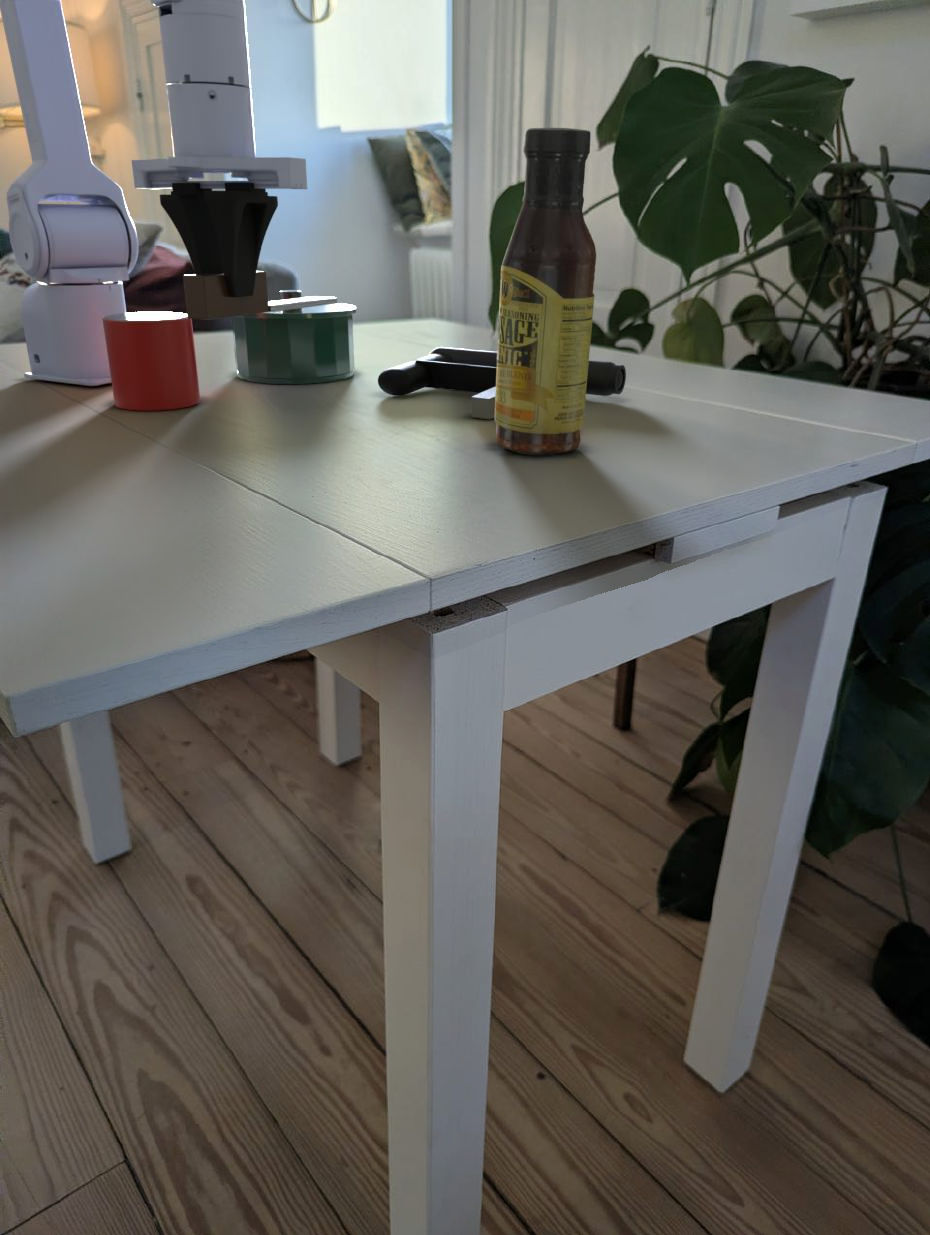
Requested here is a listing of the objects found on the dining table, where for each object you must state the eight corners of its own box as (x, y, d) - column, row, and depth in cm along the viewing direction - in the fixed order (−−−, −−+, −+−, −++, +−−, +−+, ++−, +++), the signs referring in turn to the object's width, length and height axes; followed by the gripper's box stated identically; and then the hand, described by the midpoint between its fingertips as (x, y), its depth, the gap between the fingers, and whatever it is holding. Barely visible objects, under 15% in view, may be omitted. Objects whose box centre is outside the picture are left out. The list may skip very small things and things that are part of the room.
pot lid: (199, 320, 87) (196, 292, 86) (281, 310, 98) (279, 284, 96) (305, 328, 82) (304, 298, 81) (380, 316, 92) (379, 289, 91)
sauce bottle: (480, 441, 66) (486, 130, 58) (558, 435, 68) (574, 134, 60) (517, 462, 60) (528, 122, 52) (600, 455, 62) (624, 127, 54)
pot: (212, 377, 90) (206, 314, 87) (285, 362, 99) (281, 304, 97) (308, 388, 85) (304, 321, 82) (375, 371, 94) (373, 310, 92)
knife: (315, 302, 80) (313, 265, 79) (337, 303, 79) (335, 266, 78) (184, 318, 67) (180, 274, 66) (209, 320, 66) (205, 276, 65)
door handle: (557, 396, 69) (632, 357, 81) (344, 373, 78) (441, 341, 90) (556, 439, 70) (630, 394, 83) (347, 411, 79) (443, 375, 92)
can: (96, 405, 76) (82, 317, 73) (157, 392, 82) (147, 310, 79) (158, 413, 73) (147, 322, 71) (217, 400, 79) (209, 314, 76)
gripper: (88, 86, 63) (117, 294, 68) (253, 75, 57) (270, 304, 62) (163, 97, 69) (184, 288, 74) (320, 88, 62) (330, 297, 68)
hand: (227, 295), depth 69 cm, fingers closed on knife, 2 cm apart
